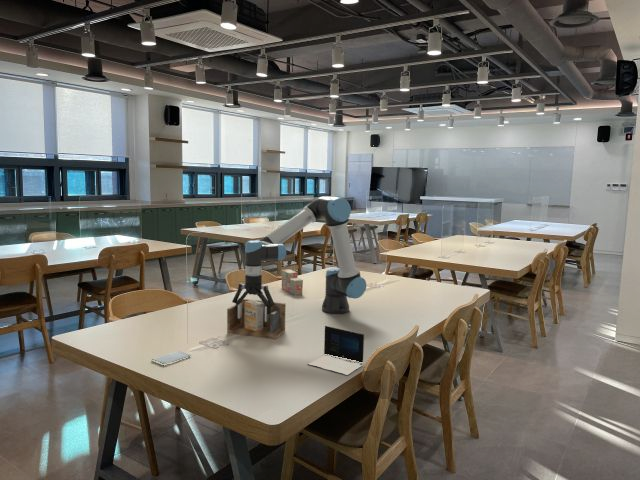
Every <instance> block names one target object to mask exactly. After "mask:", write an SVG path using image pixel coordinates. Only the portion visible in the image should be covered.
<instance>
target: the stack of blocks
mask: <svg viewBox="0 0 640 480" xmlns="http://www.w3.org/2000/svg"><path fill="white" fill-rule="evenodd" d="M303 284H304V279H302V278H300V277H298V271H296V270H293V269H292V268H291V269H281V289H282V290H284V291H286V292H288V293H289V294H291V295H293V296H298V295H303V289H304V288H303V287H304V286H303Z"/></svg>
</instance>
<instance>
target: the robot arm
mask: <svg viewBox="0 0 640 480" xmlns="http://www.w3.org/2000/svg"><path fill="white" fill-rule="evenodd" d="M351 213H352V207H351V205H350V203H349V201H348V200H346V199H345V198H343V197H339V196H327V195H323V196H320V197H318V198H316V199H314V200H313V201H311V202H310V203H309V202H308V204H306V205H305V206H304V207H303V208H302V210H301V211H299V212H298V213H297V214H295V215H294V216H293V217H291V218H290V219H288V220H287V221H285V222H284V223H283V224H281V225H279V226H278V227H277V228H276V229H274V230H273V231H271V232H270V233H268V234H267V235H265V236H264V237H263V238H261V239H256V240H248V241H246V242H245V246H244V247H245V249H244V256H245V258H244V260H245V264H244V265H245V267H244V269H245V270H244V271H245V272H244V273H245V277H244V278H245V279H244V281H245V283H243V282H242V283H239V284H238V288H237V290H236V292H235V295H234V297H233V298H232V300H231V301H232V303H233V304H236V311H238V319H239V318H241V317H242V304H241V301H242V300H243V299H246V297H247V296H248V295H253V296H257V297H259V299H260V301H263V303H264V304H265V306H266V308H265V322H267V321H268V320H269V314H270V311H271V307H272V306H274V305H275V304H274V302H275V301H274V300H273V297H272V295H271V293H270V292H271V291H269V286H268V285H263V284H262V283H263V281H262V279H263V277H262V276H263V275H262V270H263V269H262V268H263V267H262V266H263V262H267V261H268V262H270V261H280V260H285V258H286V257H287V248H286V246H285V244H283V243H284V242H286V241H287V240H289V239H290V238H291V237H292V236H294V235H296V234H297V233H298V232H299V231H301V230H303V229H304V228H305V227H307V226H308V225H310V224H311V223H312V224H314V223H316V222H318V221H319V220H324V221H325V226H326V227H327V228H329V229H330V233H331V238H332V239H331V240H332V243H333V247H334V253H335V256H336V260H337V261H336V262H337V264H338V265H337V266H338V268H330V269H327V270H326V272H325V295H324V299H323V302H322V305H321V310H322V311H323V312H325V313H328V314H334V315H335V314H336V315H337V314H347V313H348V312H350V304H349V302H348V298H350V299H354V300H355V299H359V298H361V297H362V296H363V295H364V294H365V292H366V290H367V281H366V279H365V278H364V277H362V276H361V271H360V269H359V268H357V267H356V260H355V258H354V254H353V248H352V245H351V244H352V243H351V239H350V233H349V229H348V223H350V216H351ZM243 289H245V291H244V292H243V294H242V291H243ZM241 294H242V295H241Z"/></svg>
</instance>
